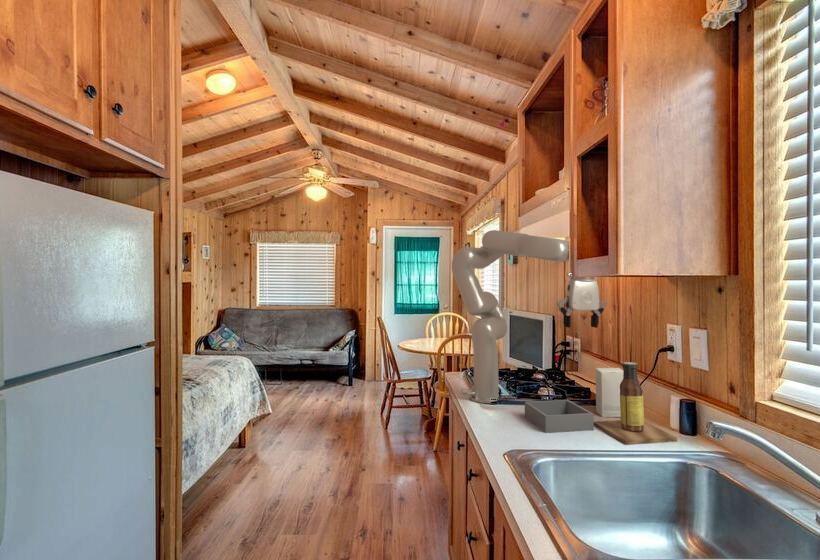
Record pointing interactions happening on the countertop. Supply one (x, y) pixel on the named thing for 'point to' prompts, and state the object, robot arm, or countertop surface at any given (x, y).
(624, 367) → the sauce bottle
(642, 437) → the board
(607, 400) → the skincare box
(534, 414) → the bin
